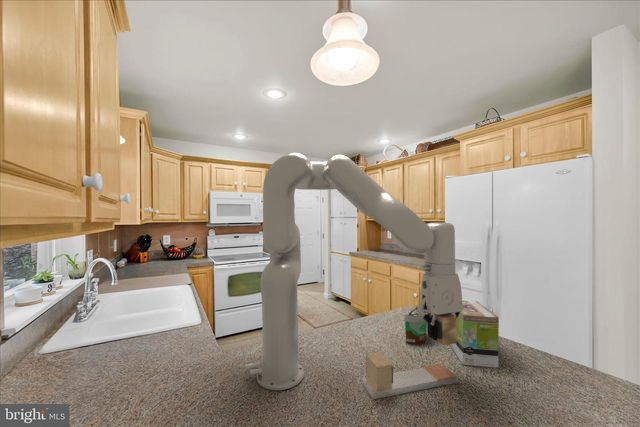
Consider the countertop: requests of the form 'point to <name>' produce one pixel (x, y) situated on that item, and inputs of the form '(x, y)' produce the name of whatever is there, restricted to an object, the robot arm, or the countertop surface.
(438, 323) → the block
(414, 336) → the food container
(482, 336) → the tea box
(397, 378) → the rail
